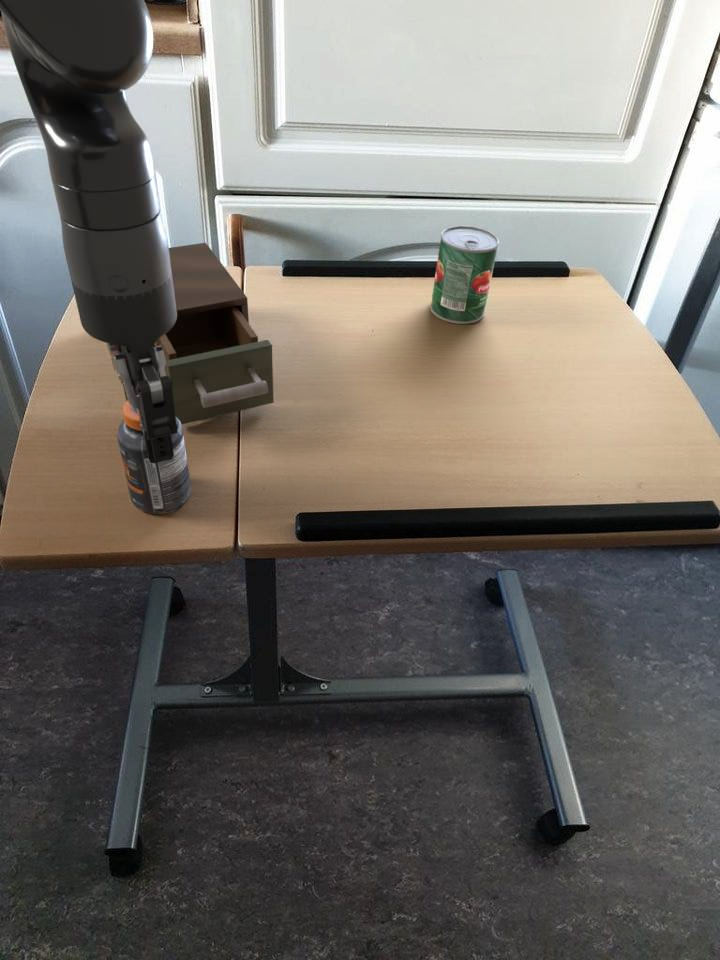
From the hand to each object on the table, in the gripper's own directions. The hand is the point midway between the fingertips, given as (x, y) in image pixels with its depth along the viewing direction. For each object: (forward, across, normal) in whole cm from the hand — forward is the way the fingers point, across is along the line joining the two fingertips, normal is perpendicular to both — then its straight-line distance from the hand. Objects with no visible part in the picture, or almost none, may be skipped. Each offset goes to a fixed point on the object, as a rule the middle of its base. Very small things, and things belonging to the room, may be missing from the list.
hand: (150, 435), depth 66 cm
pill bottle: (+8, 0, 0) cm, 8 cm away
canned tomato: (+8, +21, -49) cm, 54 cm away
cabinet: (+8, +26, -10) cm, 29 cm away
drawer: (+7, +14, -10) cm, 19 cm away
